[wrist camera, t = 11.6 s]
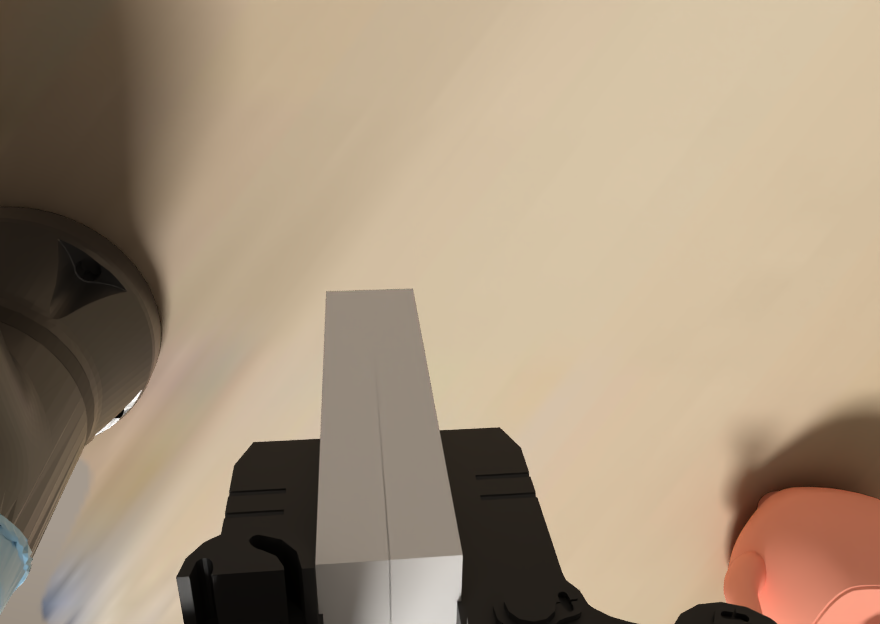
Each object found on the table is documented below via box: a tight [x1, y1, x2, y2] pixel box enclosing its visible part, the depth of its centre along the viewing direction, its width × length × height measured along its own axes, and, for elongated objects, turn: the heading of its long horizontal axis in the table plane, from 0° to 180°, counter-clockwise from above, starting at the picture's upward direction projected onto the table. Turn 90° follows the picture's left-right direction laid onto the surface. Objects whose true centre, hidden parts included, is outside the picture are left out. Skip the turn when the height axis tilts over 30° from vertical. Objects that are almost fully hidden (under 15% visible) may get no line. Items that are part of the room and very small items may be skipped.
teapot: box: [724, 487, 880, 624], centre depth 59 cm, size 13×20×12 cm, turn 79°
